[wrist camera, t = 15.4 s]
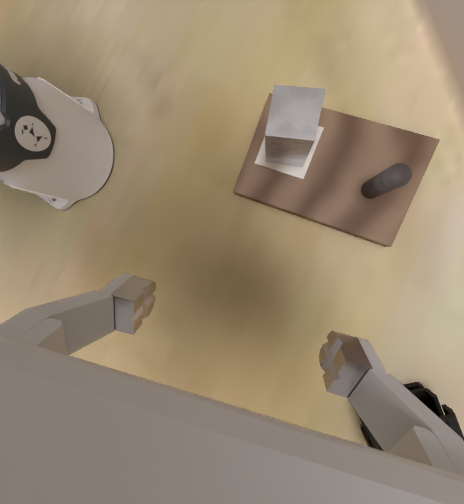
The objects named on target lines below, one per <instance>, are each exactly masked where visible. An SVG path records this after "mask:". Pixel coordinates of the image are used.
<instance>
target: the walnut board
mask: <svg viewBox="0 0 464 504" xmlns="http://www.w3.org/2000/svg"><path fill="white" fill-rule="evenodd" d="M272 96H273V94H271V93H270V94H269V96H268V99H267V102H266V104H265V107H264V110H263V113H262V115H261V118H260V121H259V123H258V126H257V129H256V132H255V134H254V137H253V140H252V143H251V145H250V148H249V151H248V153H247V156H246V159H245V162H244V164H243V167H242V170H241V172H240V175H239V178H238V181H237V183H236V186H235V189H234V193H235V194H237V195H240V196H243V197H246V198H249V199H252V200H254V201H257V202H260V203H263V204H266V205H269V206H272V207H274V208H277V209H280V210H283V211H286V212H289V213H291V214H294V215H297V216H300V217H303V218H306V219H308V220H311V221H314V222H317V223H320V224H323V225H326V226H328V227H331V228H334V229H337V230H340V231H343V232H345V233H348V234H351V235H354V236H357V237H360V238H362V239H365V240H368V241H371V242H374V243H377V244H379V245H382V246H388V247H391V246H392V243H393V241H394V239H395V237H396V235H397V232H398V230H399V228H400V226H401V224H402V221H403V219H404V217H405V215H406V213H407V211H408V208H409V206H410V204H411V202H412V200H413V197H414V195H415V193H416V191H417V189H418V186H419V184H420V182H421V180H422V178H423V176H424V173H425V171H426V169H427V167H428V165H429V162H430V160H431V158H432V156H433V154H434V151H435V149H436V147H437V145H438V143H439V141H440V140H439V139H436V138H432V137H428V136H425V135H421V134H417V133H414V132H410V131H406V130H403V129H399V128H395V127H392V126H388V125H384V124H381V123H377V122H373V121H370V120H366V119H362V118H359V117H355V116H351V115H348V114H344V113H340V112H337V111H333V110H329V109H326V108H321V113H320V117H319V122H318V127H317V132H316V136H315V141H314V143H313V145H312V148H311V150H310V152H309V154H308V157H307V159H306V161H305V163H304V166H303V167H299V166H292V165H284V164H276V163H269V162H266V153H265V132H266V126H267V121H268V116H269V111H270V106H271V101H272Z"/></svg>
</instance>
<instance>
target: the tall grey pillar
mask: <svg viewBox="0 0 464 504" xmlns="http://www.w3.org/2000/svg"><path fill="white" fill-rule="evenodd" d="M324 94H325V89H320V88H307V87H293V86H279V85H274V90H273V96H272V101H271V106H270V111H269V116H268V121H267V126H266V132H265V153H266V162H269V163H276V164H284V165H292V166H299V167H303V166H304V163H305V161H306V159H307V157H308V154H309V152H310V150H311V148H312V145H313V143H314V141H315V136H316V132H317V127H318V122H319V117H320V113H321V108H322V103H323V98H324Z"/></svg>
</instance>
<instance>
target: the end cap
mask: <svg viewBox="0 0 464 504" xmlns="http://www.w3.org/2000/svg"><path fill="white" fill-rule="evenodd" d="M403 386H404V387H406V388H407V389H408V390H409V391H410V392H411V393H412V394H413V395H414V396H416V397H417V398H418V399H419V400H420V401H421V402H422V403H423V404H424V405H425V406H427V407H428V408H429V409H430V410H431V411H432V412H433V413H434V414H435V415H437V416H438V417H439V418H440V419H441V420H442V421H443V422H444V423H445V424H447V425H448V426H449V427H450V428H451V429H452V430H453V431H454V432H455V433H457V434H458V435H459V436H460V437H461V438H462V439H463V441H464V436H463V434H462V431H461V429H460V426H459V423H458V421H457V418H456V416H455V413H454V412H453V411H452V409H451V408H449V407H448V406H446V405H445V404H444V405H442V408H443V411H444V413H445V415H444V414H443V411H442V409H441V406H440V403H439V401H438V398H437V396H436V395H435V394H434V393H432V392H431V391H430V390H429V389H427V388H424V387H423V386H422V385H421V384H420V383H418V382H414V383H410V384H405V385H403ZM360 419H361V418H360ZM361 422H362V424H363V427H361V430H362V432H363V435H364V437H365V440H366V442H367V445H368V447H371V448H375V449H378V450H381V451H384V450H383V449H382V448H381V446H380V445H379V443H378V442H377V440H376V439H375V438H374V436H373V435H372V433H371V432H370V430H369V429H368V428H367V426H366V425H365V423H364V422H363V421H362V419H361Z"/></svg>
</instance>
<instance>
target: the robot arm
mask: <svg viewBox="0 0 464 504" xmlns="http://www.w3.org/2000/svg"><path fill="white" fill-rule="evenodd" d="M112 164H113V145H112V141H111V138H110V135H109V133H108V131H107V129H106V128H105V126H104V125H103V123H102V122H101V120H100V117H99V112H98V108H97V105H96V103H95V102H94V101H92V100H91V99H89V98H85V97H70V96H69V95H67V94H66V93H64V92H63V91H61V90H60V89H58V88H57V87H55V86H54V85H52V84H51V83H49V82H48V81H46V80H44V79H42V78H40V77H37V78H33V77H24V78H21V77H20V76H18V75H17V74H15V73H14V72H12V71H11V70H10V69H9V68H8V67H6V66H5V65H3V64H2V63H0V181H2V182H3V184H5V185H7V186H10V187H12V188H15V189H18V190H22V191H26V192H30V193H34V194H36V195H37V196H39V197H40V198H42V199H43V200H45V201H46V202H47V203H49V204H50V205H52V206H53V207H55V208H56V209H60V210H66V209H68V208H69V207H70V206H71V205H72V204H73V203H75V202H76V201H78V200H81V199H84V198H87V197H89V196H91V195H93V194H94V193H96V192H97V191H98V190H99V189H100V188H101V187H102V186H103V185H104V183H105V182H106V180H107V178H108V176H109V174H110V171H111V168H112ZM155 289H156V283H155V282H154V281H150V280H147V279H144V278H140V277H137V276H133V275H130V274H126V273H122V274H120V275H119V276H117V277H116V278H115V279H114V280H112V281H111V282H110V283H108V284H107V285H106V286H105V287H103V288H102V289H101V290H99V291H98V292H97V291H92V292H88V293H84V294H81V295H77V296H73V297H69V298H65V299H62V300H58V301H54V302H50V303H47V304H43V305H39V306H35V307H31V308H28V309H25V310H23V311H22V312H20V313H18V314H17V315H15V316H14V317H12V318H10V319H9V320H7V321H6V322H4V323H2V324H1V325H0V504H464V441H463V439H462V438H461V437H460V436H459V435H458V434H457V433H455V432H454V431H453V430H452V429H451V428H450V427H449V426H448V425H447V424H445V423H444V422H443V421H442V420H441V419H440V418H439V417H438V416H437V415H435V414H434V413H433V412H432V411H431V410H430V409H429V408H428V407H427V406H425V405H424V404H423V403H422V402H421V401H420V400H419V399H418V398H417V397H416V396H414V395H413V394H412V393H411V392H410V391H409V390H408V389H407V388H406V387H404V386H403V385H402V384H401V383H400V382H399V381H398V380H397V379H396V378H394V377H393V376H392V375H391V374H387V372H386V370H385V368H384V366H383V365H382V363H381V361H380V359H379V357H378V356H377V354H376V352H375V350H374V348H373V346H372V345H371V343H370V342H369V341H368V340H366V339H362V338H358V337H353V336H349V335H346V334H342V333H338V332H335V331H331V332H330V333H329V334H328V336H327V339H328V342H327V343H325V344H323V345H322V347H321V349H320V354H319V362H320V366H321V368H322V369H323V370H324V371H325V373H324V375H323V378H324V382H325V386H326V390H327V392H330V393H333V394H336V395H340V396H343V397H346V398H348V401H349V402H350V403H351V405H352V406H353V408H354V409H355V411H356V412H357V413H358V415H359V416H360V418H361V419H362V421H363V422H364V423H365V425H366V426H367V428H368V429H369V430H370V432H371V433H372V435H373V436H374V438H375V439H376V440H377V442H378V443H379V445H380V446H381V448H382V449H383V450H384V451H381V450H378V449H375V448H371V447H368V446H365V445H361V444H358V443H355V442H352V441H348V440H345V439H342V438H339V437H335V436H332V435H329V434H325V433H322V432H319V431H316V430H312V429H309V428H306V427H302V426H299V425H296V424H292V423H289V422H286V421H283V420H279V419H276V418H273V417H269V416H266V415H263V414H260V413H256V412H253V411H250V410H246V409H243V408H240V407H237V406H233V405H230V404H227V403H224V402H220V401H217V400H214V399H210V398H207V397H204V396H201V395H197V394H194V393H191V392H187V391H184V390H181V389H178V388H174V387H171V386H168V385H165V384H161V383H158V382H155V381H151V380H148V379H145V378H142V377H138V376H135V375H132V374H128V373H125V372H122V371H119V370H115V369H112V368H109V367H105V366H102V365H99V364H96V363H92V362H89V361H86V360H82V359H79V358H76V357H73V356H69V355H70V354H72V353H74V352H76V351H77V350H79V349H81V348H83V347H85V346H87V345H89V344H91V343H93V342H94V341H96V340H98V339H100V338H102V337H104V336H106V335H108V334H110V333H111V332H113V331H114V330H117V331H121V332H125V333H129V334H133V335H134V334H135V332H136V331H137V330H138V328H139V327H140V326H141V325H142V319H143V318H146V317H148V315H149V314H150V313H151V311H152V308H153V306H154V302H155V296H154V295H153V292H154V291H155Z"/></svg>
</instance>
